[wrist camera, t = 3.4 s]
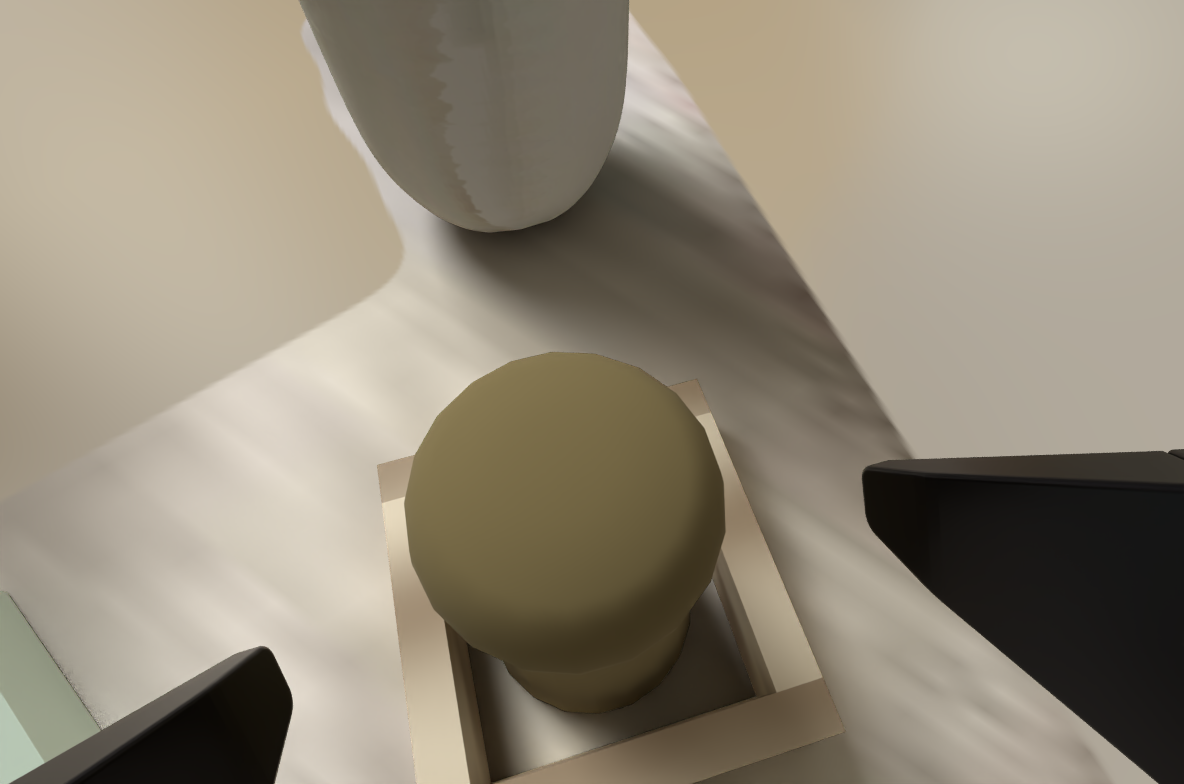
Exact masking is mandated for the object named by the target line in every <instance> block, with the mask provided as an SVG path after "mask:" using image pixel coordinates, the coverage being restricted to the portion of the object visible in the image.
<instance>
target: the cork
mask: <svg viewBox="0 0 1184 784" xmlns="http://www.w3.org/2000/svg"><path fill="white" fill-rule="evenodd" d="M404 508H405V518H406V527H407V536H408V545H409V553H410V558H411V563H412V566H413V568H414V570H415V572H416V574H417V576H418V578H419V580H420V582H421V584H422V586H423V589H424V591H425V593H426V595H427V597H428V599H429V601H430V603H431V605H432V607H433V609H434V610H435V611H436V612H437V613H438V614H439V615H440V616H441V617H442V618H443V619H444V620H445V621H446V622H447V623H448V624H449V625H450V626H451V627H452V628H453V629H454V630H455V631H456V632H457V633H458V634H459V635H460V636H461V637H462V638H463V639H464V640H465V641H466V642H467V643H468V644H469V645H470V646H471V647H473V648H476V649H478V650H480V651H482V652H485V653H487V654H489V655H491V656H494V657H496V658H498V659H500V660H503V662H504V664H505V666H506V668H507V670H508V672H509V674H510V675H511V676H512V677H513V678H514V679H516V680H517V681H518V682H519V683H520V684H521V685H522V686H523V687H524V688H525V689H526V690H527V691H528V692H529V693H530V694H531V695H532V696H533V697H535V698H537V699H539V700H541V701H543V702H545V703H548V704H550V705H552V706H554V707H556V708H559V709H561V710H563V711H568V712H581V713H595V714H600V713H603V712H607V711H610V710H614V709H617V708H621V707H624V706H628V705H631V704H633V703H634V702H636V701H637V700H639V699H640V698H641V697H643V696H644V695H646V694H647V693H648V692H650V691H651V690H653V689H654V688H655V687H657V686H658V685H659V684H660V683H661V682H662V680H663V679H664V678H665V676H666V675H667V673H668V672H669V671H670V669H671V668H672V666H673V665H674V664H675V662H676V661H677V659H678V658H679V656H680V654H681V650H682V647H683V644H684V641H685V637H686V634H687V631H688V628H689V624H690V610H691V608H692V607H693V606H694V604H695V603H696V601H697V600H698V599H699V597H700V596H701V595H702V593H703V592H704V590H705V589H706V588H707V586H708V585H709V583H710V582H711V579H712V576H713V573H714V569H715V566H716V563H717V559H718V556H719V553H720V550H721V546H722V543H723V540H724V536H725V533H726V526H725V498H724V481H723V478H722V474H721V471H720V468H719V465H718V463H717V460H716V457H715V455H714V452H713V449H712V447H711V444H710V442H709V439H708V436H707V434H706V431H705V428H704V427H703V426H702V425H701V423H700V422H699V421H698V419H697V418H696V417H695V416H694V414H693V413H692V412H691V411H690V409H689V408H688V407H687V406H686V404H685V403H684V402H683V401H682V399H681V398H680V397H679V396H678V394H677V393H676V392H674V391H673V390H671V389H670V388H668V387H667V386H665V385H664V384H662V383H661V382H659V381H658V380H656V379H655V378H654V377H652V376H651V375H649V374H648V373H646V372H645V371H643V370H642V369H640V368H638V367H635V366H632V365H629V364H625V363H622V362H619V361H616V360H613V359H610V358H607V357H604V356H601V355H597V354H590V353H563V352H550V353H546V354H541V355H537V356H533V357H528V358H524V359H520V360H515V361H511V362H509V363H507V364H506V365H504V366H502V367H500V368H498V369H496V370H494V371H493V372H491V373H489V374H487V375H485V376H483V377H481V378H480V379H478V380H476V381H474V382H473V383H471V384H470V385H469V386H468V387H467V388H466V389H465V390H464V391H463V392H462V393H461V394H460V395H459V396H458V397H457V398H455V399H454V400H453V401H452V402H451V403H450V404H449V405H448V406H447V407H446V408H445V409H444V410H443V411H442V412H441V413H440V414H439V415H438V416H437V417H436V419H435V421H434V423H433V424H432V426H431V428H430V430H429V431H428V433H427V435H426V437H425V438H424V440H423V442H422V444H421V445H420V447H419V449H418V451H417V452H416V454H415V456H414V459H413V464H412V468H411V473H410V478H409V482H408V487H407V491H406V496H405V501H404Z"/></svg>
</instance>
